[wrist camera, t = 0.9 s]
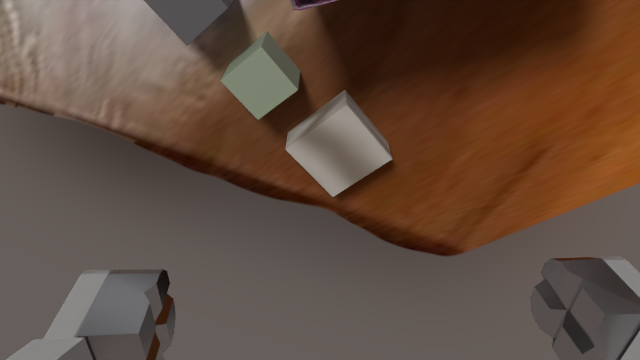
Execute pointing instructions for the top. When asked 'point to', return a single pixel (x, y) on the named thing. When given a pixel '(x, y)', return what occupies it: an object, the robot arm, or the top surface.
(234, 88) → the sage block
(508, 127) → the top surface
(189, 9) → the charcoal block
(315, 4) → the gum box
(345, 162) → the base slab
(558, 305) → the robot arm
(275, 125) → the top surface
